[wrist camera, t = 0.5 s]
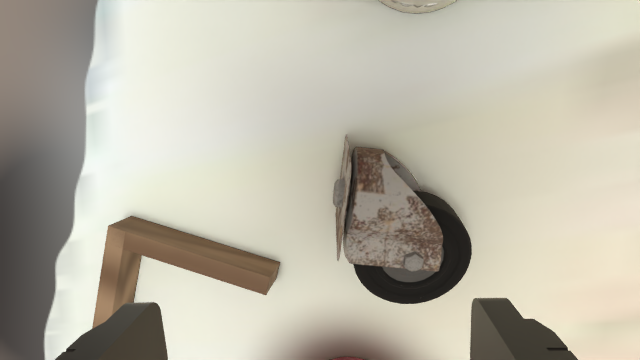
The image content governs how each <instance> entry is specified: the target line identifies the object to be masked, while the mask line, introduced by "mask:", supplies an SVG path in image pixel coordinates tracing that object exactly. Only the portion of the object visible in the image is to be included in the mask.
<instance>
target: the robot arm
mask: <svg viewBox="0 0 640 360" xmlns="http://www.w3.org/2000/svg"><path fill="white" fill-rule="evenodd" d="M379 1H381V2H382V3H384V4H385V5H387V6H388V7H391V8H393V9H396V10H399V11H402V12H409V13H425V12H432V11H435V10H438V9H441V8H444V7H446V6H448V5H450V4H451V3H453V2H455V1H457V0H379ZM55 360H168V356H167V349H166V342H165V336H164V329H163V323H162V316H161V310H160V307H159V305H158V304H157V303H154V302H151V303H125V304H124V305H122V306H121V307H120V308H119V309H118V310H117V311H116V312H115V313H114V314H113V315H112V316H111V317H110V318H108V319H107V320H106V321H105V322H104V323H102V324H100V325H98V326H97V327H95V328H93V329H91V330H90V331H88V332H86V333H85V334H83V335H81V336H80V337H79V338H78V339H77V340H76V341H75V342H74V343H73V344H72V345H70V346H69V347H68V348H67V349H66V352H63V353H62V354H61V355H60V356H58V357H57V358H56V359H55ZM470 360H578V359H577V358H576V357H575V356H574V354H573V353H572V352H571V351H568V348H567V346H566V345H565V344H564V343H563V342H562V341H561V339H560V338H559V337H558V336H557V335H556V334H555V332H553V331H552V330H550V329H549V328H547V327H545V326H544V325H542V324H541V323H539V322H538V321H536V320H534V319H523V317H522V316H521V315H520V313H519V312H518V311H517V310H516V308H515V307H514V306H513V305H512V303H511V302H510V301H509V300H508V299H507V298H475V299H474V300H473V302H472V310H471V345H470Z"/></svg>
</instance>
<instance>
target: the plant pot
mask: <svg viewBox="0 0 640 360" xmlns="http://www.w3.org/2000/svg"><path fill="white" fill-rule="evenodd" d="M331 360H365V359H361V358H356V357H340V358H334V359H331Z"/></svg>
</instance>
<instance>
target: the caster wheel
mask: <svg viewBox="0 0 640 360" xmlns="http://www.w3.org/2000/svg"><path fill="white" fill-rule="evenodd" d="M333 203H334V205H335V207H337V208H336V236H337V260H339V257H340V250H341V243H342V235H343V228H344V238H343V246H344V252H345V256H346V258H347V260H348V261H349V263H351V264H354V268H355V272H356V274H357V276H358V278H359V280H360V281H361V283H362V284H363V285H364V286H365V287H366V288H367V289H368V290H369V291H370V292H371V293H373V294H374V295H376V296H378V297H380V298H382V299H384V300H387V301H390V302H395V303H400V304H416V303H422V302H427V301H430V300H433V299H435V298H438V297H440V296H441V295H443V294H445V293H447V292H448V291H449V290H451V289H452V288H453V287H454V286H455V285H456V284H458V282H459V281H460V280H461V279H462V277H463V276H464V274H465V273H466V271H467V268H468V266H469V263H470V259H471V255H472V252H471V241H470V237H469V235H468V232H467V231H466V229H465V227H464V225H463V224H462V222H461V220H460V219H459V217H458V216H457V214H456V213H455V211H454V210H453V209H452V208H451V207H450V206H449V205H448V204H447V203H446V202H445V201H444V200H442V199H440V198H439V197H437V196H435V195H432V194H429V193H426V192H421V190H420V187H419V186H418V184H417V182H416V180H415V179H414V177H413V176H412V174H411V173H410V172H409V170H408V169H407V168H406V167H405V166H404V165H403V164H402V163H401V162H400V161H399V160H397V159H396V158H395V157H393V156H392V155H390V154H389V153H387V152H386V151H384V150H381V149H371V148H362V147H356V148H355V149H354V150H353V154H352V158H351V157H350V151H349V144H348V137H347V135H346V137H345V144H344V152H343V160H342V168H341V176H340V179H339V180H337V181H336V182H335V185H334V194H333ZM344 221H345V222H344Z"/></svg>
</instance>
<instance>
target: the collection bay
mask: <svg viewBox="0 0 640 360" xmlns="http://www.w3.org/2000/svg"><path fill="white" fill-rule="evenodd" d="M142 255H143V256H146V257H149V258H153V259H156V260H159V261H162V262H165V263H168V264H171V265H174V266H177V267H180V268H183V269H187V270H190V271H193V272H196V273H199V274H202V275H205V276H208V277H211V278H214V279H217V280H221V281H224V282H227V283H230V284H233V285H236V286H239V287H242V288H245V289H248V290H252V291H255V292H258V293H261V294H264V295H266V294H267V293H268V291H269V289H270V288H271V286H272V285H273V283H274V281H275V280H276V277H277V273H278V269H279V265H280V262H277V261H274V260H271V259H267V258H264V257H261V256H258V255H255V254H251V253H248V252H245V251H242V250H239V249H235V248H232V247H229V246H226V245H223V244H219V243H216V242H213V241H210V240H207V239H204V238H200V237H197V236H194V235H191V234H188V233H184V232H181V231H178V230H175V229H172V228H168V227H165V226H162V225H159V224H156V223H152V222H149V221H146V220H143V219H140V218H136V217H133V216H130V217H128V218H126V219H123V220H121V221H119V222H116V223H114V224H111V225H109V226H108V230H107V237H106V243H105V250H104V256H103V263H102V269H101V276H100V282H99V289H98V295H97V302H96V308H95V315H94V321H93V328H95V327H97V326H98V325H100V324H102V323H104V322H105V321H106V320H107V319H108V318H110V317H111V316H112V315H113V314H114V313H115V312H116V311H117V310H118V309H119V308H120V307H121V306H122V305H124V304H125V303H133V301H134V296H135V290H136V284H137V278H138V273H139V267H140V261H141V256H142ZM93 328H92V329H93Z"/></svg>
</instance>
